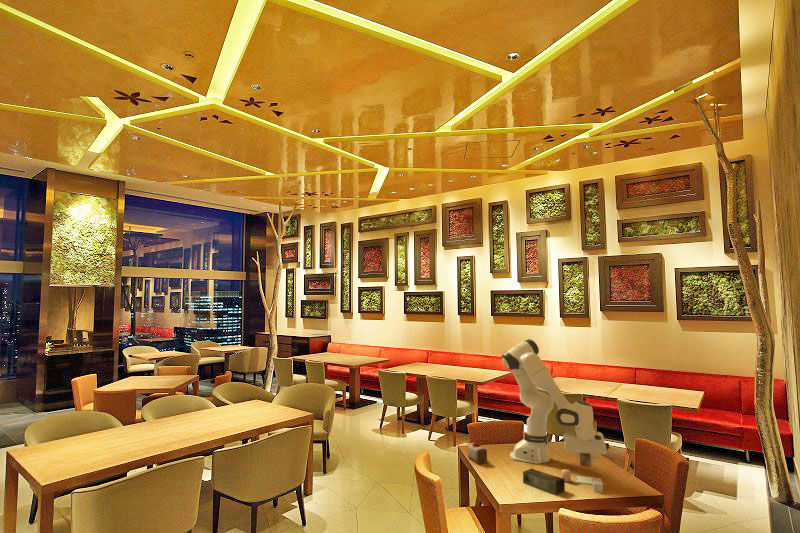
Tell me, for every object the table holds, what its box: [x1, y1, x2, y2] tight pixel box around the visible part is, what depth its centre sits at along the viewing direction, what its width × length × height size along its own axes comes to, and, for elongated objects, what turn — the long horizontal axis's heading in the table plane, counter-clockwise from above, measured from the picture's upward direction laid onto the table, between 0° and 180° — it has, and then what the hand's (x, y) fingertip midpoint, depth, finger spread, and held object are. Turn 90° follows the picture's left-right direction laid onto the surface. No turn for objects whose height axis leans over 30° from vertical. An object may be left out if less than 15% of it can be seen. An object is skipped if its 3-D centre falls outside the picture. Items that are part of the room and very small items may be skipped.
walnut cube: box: [579, 452, 592, 468], centre depth 232 cm, size 5×5×5 cm
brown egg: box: [561, 468, 572, 484], centre depth 231 cm, size 4×4×5 cm
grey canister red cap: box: [466, 442, 488, 465], centre depth 260 cm, size 14×8×10 cm, turn 20°
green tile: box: [575, 475, 595, 486], centre depth 231 cm, size 9×9×1 cm
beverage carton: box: [522, 468, 566, 496], centre depth 223 cm, size 8×19×7 cm, turn 40°
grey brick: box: [591, 477, 604, 493], centre depth 221 cm, size 8×4×4 cm, turn 163°
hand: (585, 461), depth 232 cm, fingers closed on walnut cube, 5 cm apart
